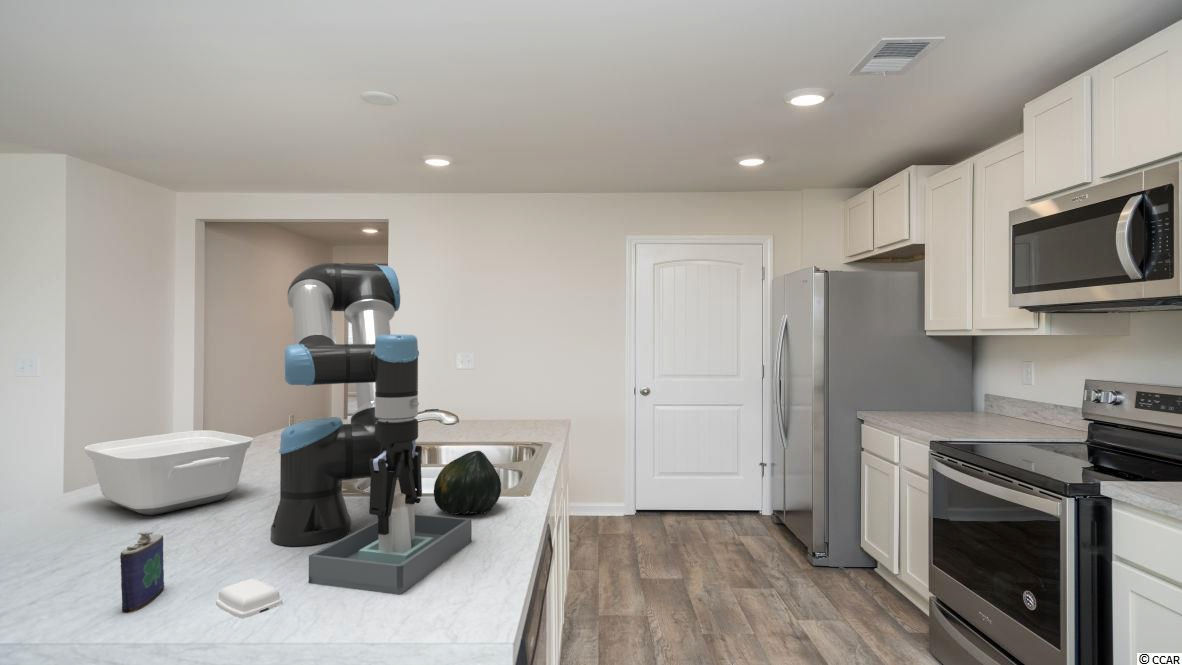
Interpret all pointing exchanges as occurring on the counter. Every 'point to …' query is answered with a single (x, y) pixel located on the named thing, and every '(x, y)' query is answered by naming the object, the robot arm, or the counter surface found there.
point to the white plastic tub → (169, 469)
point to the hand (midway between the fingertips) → (397, 544)
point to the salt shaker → (401, 524)
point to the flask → (142, 572)
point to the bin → (389, 556)
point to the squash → (467, 485)
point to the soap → (248, 598)
